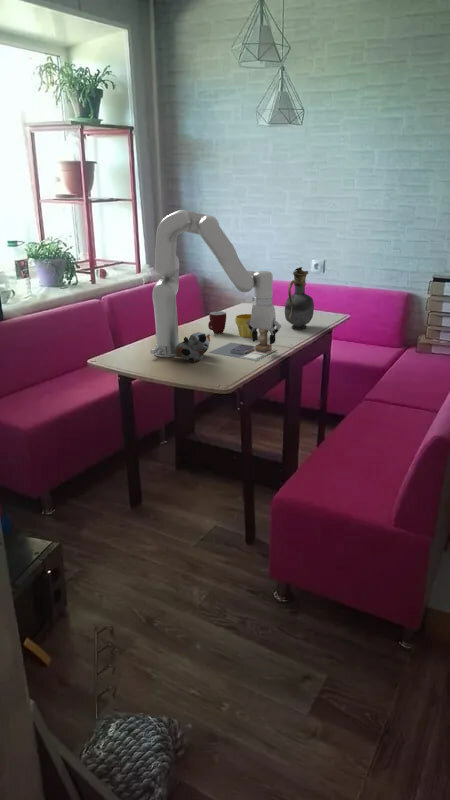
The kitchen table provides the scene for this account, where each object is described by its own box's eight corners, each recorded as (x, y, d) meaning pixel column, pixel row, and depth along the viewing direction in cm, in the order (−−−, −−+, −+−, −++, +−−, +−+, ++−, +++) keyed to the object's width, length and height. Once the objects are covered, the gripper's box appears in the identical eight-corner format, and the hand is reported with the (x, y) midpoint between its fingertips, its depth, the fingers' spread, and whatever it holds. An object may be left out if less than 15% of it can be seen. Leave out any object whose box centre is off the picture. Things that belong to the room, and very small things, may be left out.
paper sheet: (255, 360, 243) (255, 359, 243) (239, 357, 248) (239, 356, 247) (276, 349, 256) (276, 349, 256) (260, 347, 261) (260, 346, 260)
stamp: (265, 352, 252) (265, 327, 248) (255, 351, 255) (255, 325, 251) (271, 349, 256) (271, 324, 252) (261, 348, 259) (261, 323, 255)
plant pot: (231, 338, 279) (231, 317, 275) (241, 332, 287) (241, 312, 284) (251, 340, 274) (251, 319, 270) (261, 334, 283) (261, 314, 279)
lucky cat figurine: (183, 352, 258) (197, 324, 255) (205, 366, 255) (220, 338, 251) (167, 352, 244) (181, 322, 241) (189, 366, 241) (205, 336, 237)
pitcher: (315, 325, 296) (317, 264, 285) (298, 334, 281) (300, 270, 271) (296, 323, 302) (297, 263, 291) (278, 331, 287) (278, 269, 276)
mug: (217, 337, 280) (217, 316, 276) (203, 335, 284) (203, 315, 281) (229, 332, 288) (229, 312, 285) (216, 330, 292) (215, 310, 289)
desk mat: (255, 362, 243) (255, 360, 243) (208, 353, 256) (208, 352, 256) (277, 351, 257) (277, 349, 257) (231, 343, 270) (231, 342, 269)
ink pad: (244, 354, 251) (244, 351, 250) (230, 352, 254) (230, 349, 254) (255, 349, 258) (255, 346, 257) (241, 347, 261) (241, 343, 261)
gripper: (241, 301, 249) (241, 341, 256) (277, 305, 240) (277, 347, 246) (250, 298, 255) (250, 337, 261) (286, 301, 246) (285, 342, 252)
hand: (263, 341), depth 254 cm, fingers open, 8 cm apart
